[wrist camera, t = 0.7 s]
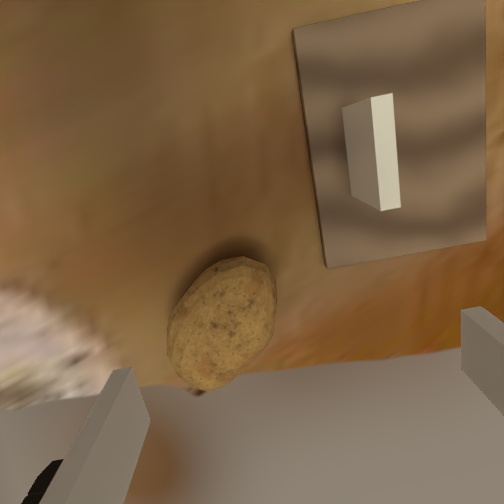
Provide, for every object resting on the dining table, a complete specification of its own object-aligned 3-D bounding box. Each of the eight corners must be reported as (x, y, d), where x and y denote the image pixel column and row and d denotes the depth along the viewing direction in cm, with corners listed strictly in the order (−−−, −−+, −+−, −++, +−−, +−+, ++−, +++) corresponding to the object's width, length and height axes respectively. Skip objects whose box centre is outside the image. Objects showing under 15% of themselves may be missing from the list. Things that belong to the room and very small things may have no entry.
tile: (341, 107, 32) (370, 97, 25) (360, 104, 32) (394, 92, 25) (351, 195, 35) (380, 211, 27) (368, 192, 35) (402, 206, 27)
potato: (299, 268, 38) (311, 300, 30) (235, 368, 42) (232, 419, 34) (217, 224, 37) (208, 246, 29) (158, 332, 40) (137, 377, 33)
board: (292, 32, 32) (293, 28, 30) (476, -8, 31) (485, -14, 30) (325, 265, 38) (327, 269, 37) (478, 236, 37) (486, 239, 36)
